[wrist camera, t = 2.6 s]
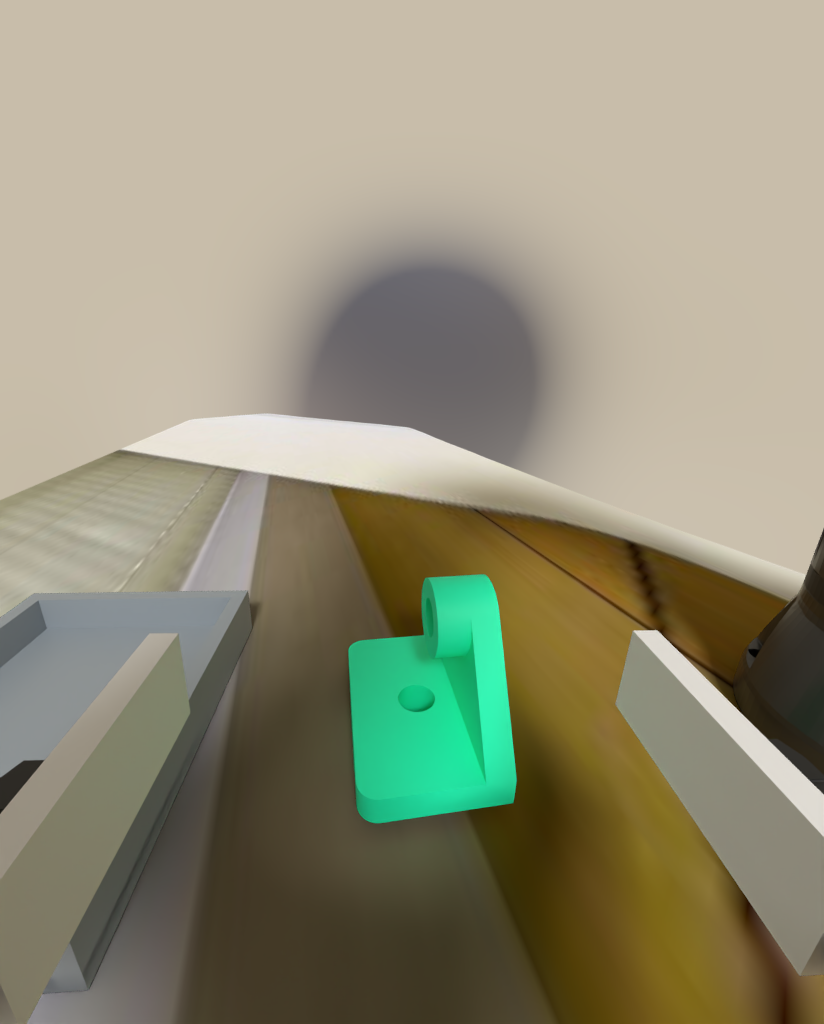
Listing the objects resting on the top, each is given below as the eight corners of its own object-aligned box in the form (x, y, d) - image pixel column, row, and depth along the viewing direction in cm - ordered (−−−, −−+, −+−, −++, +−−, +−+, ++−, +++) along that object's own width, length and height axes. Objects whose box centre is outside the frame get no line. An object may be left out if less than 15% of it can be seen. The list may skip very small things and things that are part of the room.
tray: (252, 628, 37) (247, 590, 35) (88, 990, 16) (64, 929, 15) (45, 632, 35) (33, 593, 34) (-422, 1029, 15) (-492, 966, 14)
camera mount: (348, 671, 32) (345, 541, 29) (451, 662, 33) (460, 536, 30) (357, 842, 21) (353, 663, 18) (511, 818, 22) (535, 646, 19)
